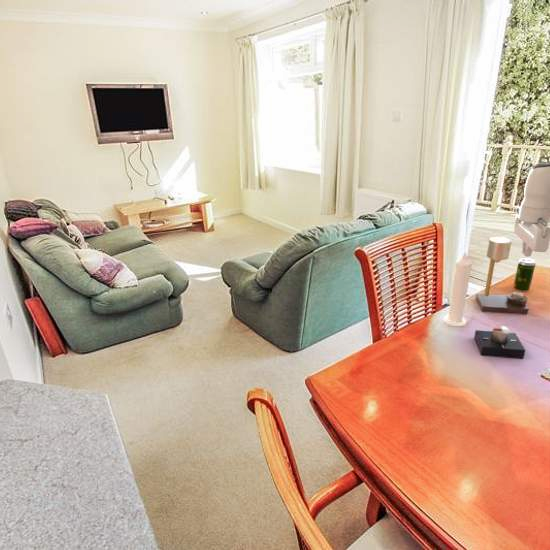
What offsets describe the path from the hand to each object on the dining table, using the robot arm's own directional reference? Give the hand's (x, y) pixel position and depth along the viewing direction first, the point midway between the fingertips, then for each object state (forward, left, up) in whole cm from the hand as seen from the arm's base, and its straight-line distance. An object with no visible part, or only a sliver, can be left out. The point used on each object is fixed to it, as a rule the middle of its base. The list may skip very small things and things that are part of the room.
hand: (526, 255), depth 124 cm
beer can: (-6, -15, -20) cm, 26 cm away
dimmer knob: (+12, +27, -17) cm, 34 cm away
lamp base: (+5, 0, -20) cm, 20 cm away
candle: (+22, +13, -20) cm, 32 cm away
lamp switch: (0, 0, -16) cm, 16 cm away
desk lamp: (+8, 0, -16) cm, 18 cm away
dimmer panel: (+12, +27, -20) cm, 36 cm away
